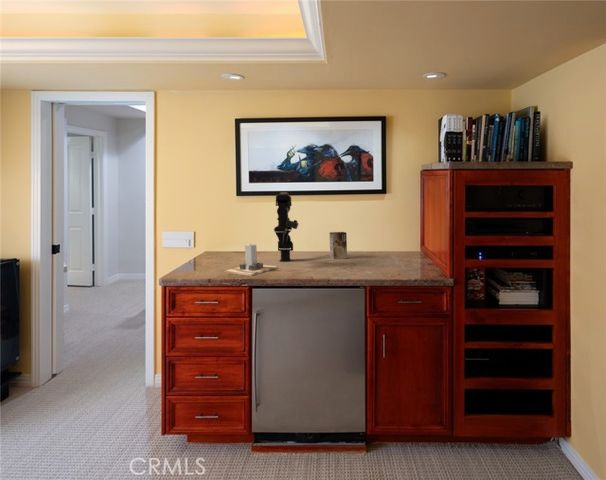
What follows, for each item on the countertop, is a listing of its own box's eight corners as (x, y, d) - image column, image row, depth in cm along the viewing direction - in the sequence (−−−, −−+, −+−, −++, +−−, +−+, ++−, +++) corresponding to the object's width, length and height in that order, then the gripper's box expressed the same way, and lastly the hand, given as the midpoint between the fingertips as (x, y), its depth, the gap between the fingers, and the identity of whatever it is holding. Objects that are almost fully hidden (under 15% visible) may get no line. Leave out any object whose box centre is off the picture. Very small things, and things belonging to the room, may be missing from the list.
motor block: (251, 267, 264) (250, 242, 262) (257, 268, 261) (256, 243, 260) (244, 269, 258) (243, 244, 257) (250, 270, 256) (249, 244, 254)
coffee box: (343, 256, 298) (343, 231, 296) (347, 258, 292) (347, 232, 290) (329, 257, 296) (329, 232, 294) (333, 259, 290) (332, 233, 288)
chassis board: (252, 265, 276) (251, 259, 275) (277, 267, 266) (277, 261, 266) (224, 272, 255) (224, 266, 255) (250, 275, 246) (250, 269, 245)
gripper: (293, 216, 259) (294, 245, 260) (300, 215, 277) (300, 242, 278) (273, 216, 261) (274, 245, 262) (281, 215, 279) (282, 242, 281)
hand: (283, 243), depth 271 cm, fingers open, 9 cm apart
